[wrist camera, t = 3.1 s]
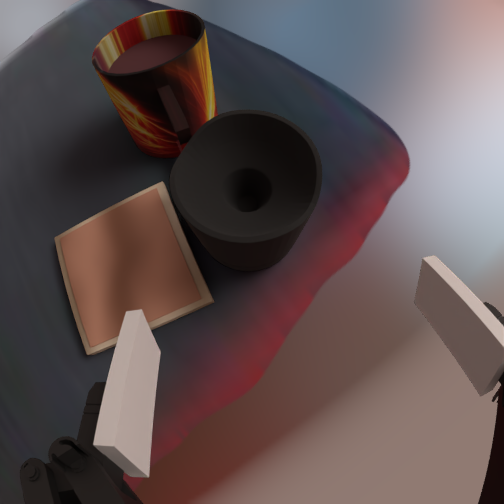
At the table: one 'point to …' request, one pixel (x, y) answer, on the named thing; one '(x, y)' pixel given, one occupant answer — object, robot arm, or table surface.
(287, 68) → the table surface
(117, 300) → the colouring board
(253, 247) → the pen holder
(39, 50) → the table surface
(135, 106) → the mug
